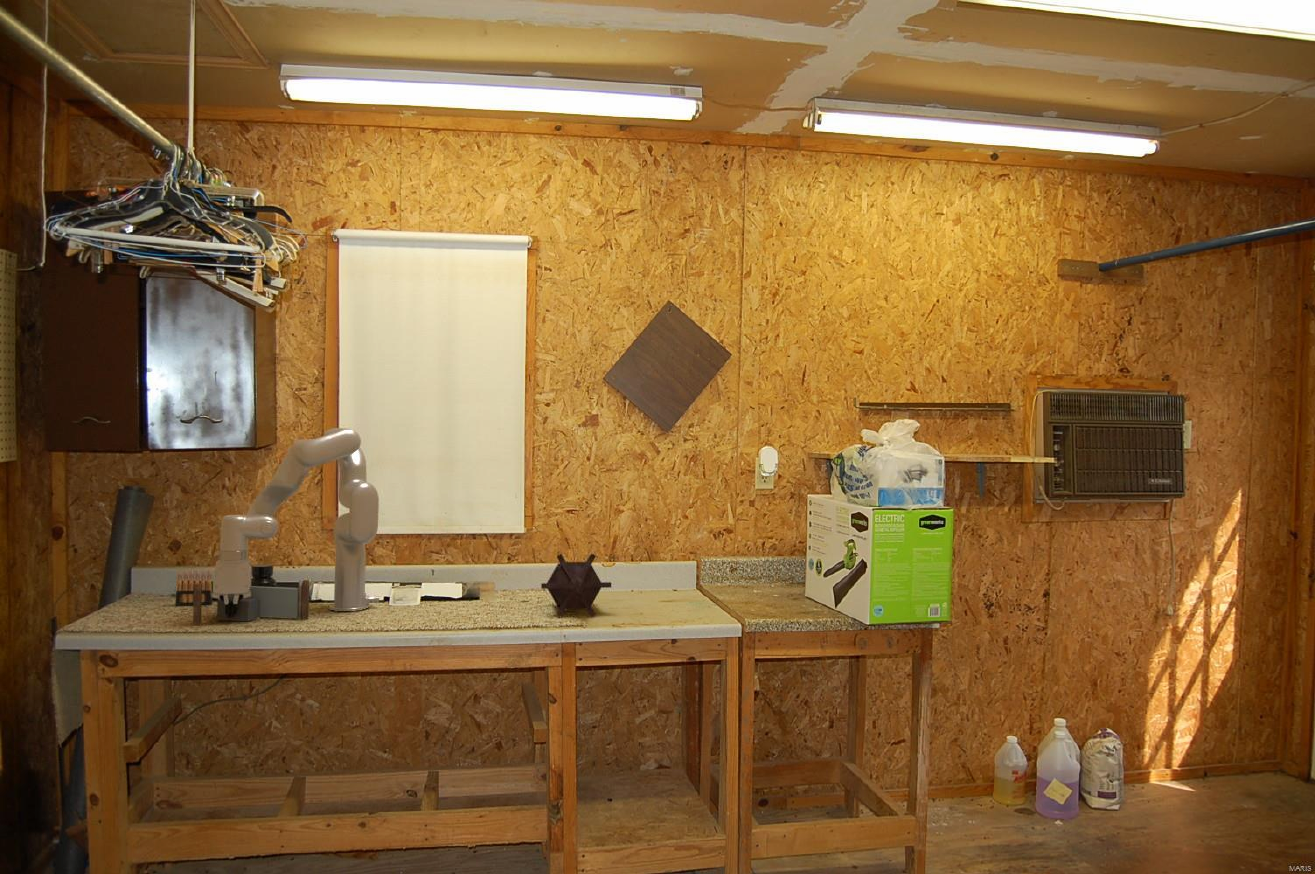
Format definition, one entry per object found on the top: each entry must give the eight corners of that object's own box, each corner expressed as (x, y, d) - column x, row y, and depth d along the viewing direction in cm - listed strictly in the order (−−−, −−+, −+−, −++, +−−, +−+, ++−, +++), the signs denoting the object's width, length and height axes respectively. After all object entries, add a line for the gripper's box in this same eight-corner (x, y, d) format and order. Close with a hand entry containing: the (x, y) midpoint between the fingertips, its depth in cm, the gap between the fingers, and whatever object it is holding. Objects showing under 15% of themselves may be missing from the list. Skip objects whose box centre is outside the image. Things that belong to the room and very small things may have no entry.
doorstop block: (258, 617, 261) (259, 598, 261) (248, 621, 255) (248, 601, 255) (228, 616, 262) (229, 597, 262) (216, 620, 256) (217, 600, 256)
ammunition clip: (175, 606, 275) (175, 569, 275) (176, 605, 277) (177, 569, 277) (211, 605, 278) (211, 569, 278) (212, 604, 280) (213, 568, 280)
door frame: (308, 617, 262) (309, 579, 262) (308, 619, 260) (309, 580, 260) (194, 623, 251) (195, 583, 251) (193, 625, 249) (193, 585, 249)
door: (299, 616, 261) (300, 588, 261) (296, 618, 260) (297, 588, 260) (220, 613, 264) (221, 584, 264) (217, 614, 262) (218, 585, 262)
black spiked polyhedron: (599, 617, 294) (613, 622, 265) (533, 613, 290) (540, 618, 261) (604, 556, 298) (618, 554, 269) (539, 551, 293) (546, 548, 265)
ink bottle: (277, 601, 286) (278, 566, 286) (248, 603, 282) (249, 568, 282) (273, 596, 295) (274, 562, 295) (245, 598, 290) (246, 564, 290)
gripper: (204, 557, 247) (200, 620, 247) (260, 557, 253) (256, 618, 253) (207, 554, 254) (204, 615, 254) (261, 554, 260) (258, 613, 259)
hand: (230, 616), depth 253 cm, fingers closed
